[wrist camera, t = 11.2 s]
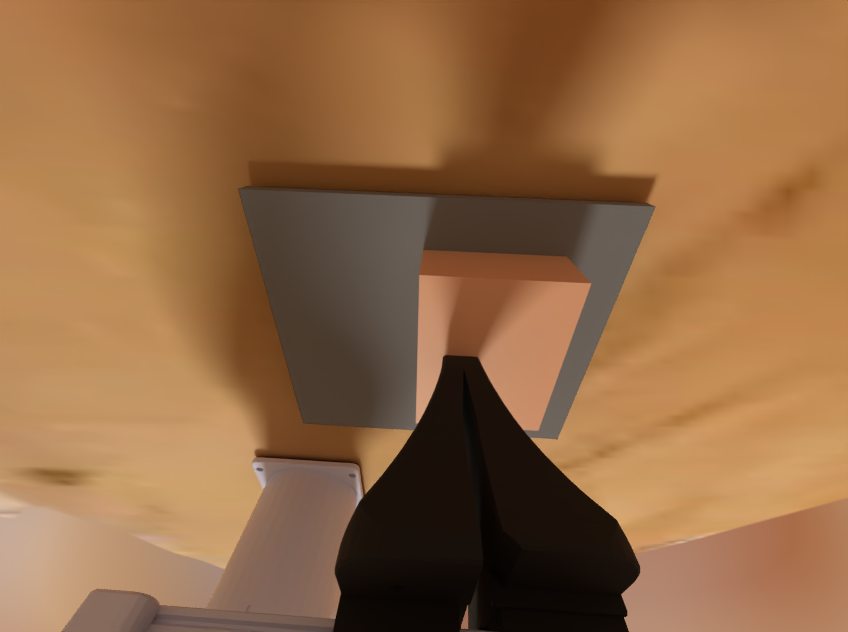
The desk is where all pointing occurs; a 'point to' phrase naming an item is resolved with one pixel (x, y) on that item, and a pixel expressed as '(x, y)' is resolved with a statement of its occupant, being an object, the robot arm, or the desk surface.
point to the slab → (499, 323)
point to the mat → (413, 285)
